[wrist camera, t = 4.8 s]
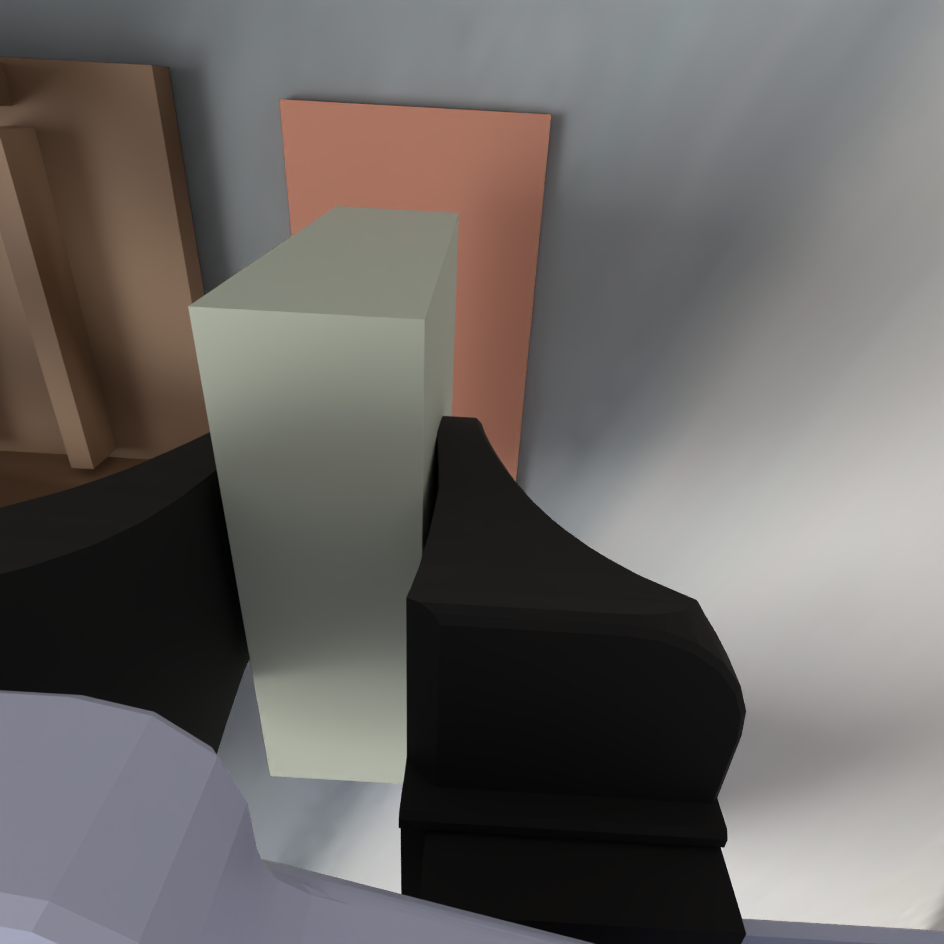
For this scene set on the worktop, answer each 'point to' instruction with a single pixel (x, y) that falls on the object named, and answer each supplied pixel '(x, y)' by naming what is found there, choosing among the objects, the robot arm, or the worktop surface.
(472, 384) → the mat
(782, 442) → the worktop surface
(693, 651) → the robot arm
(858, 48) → the worktop surface
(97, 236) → the rack
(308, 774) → the panel
